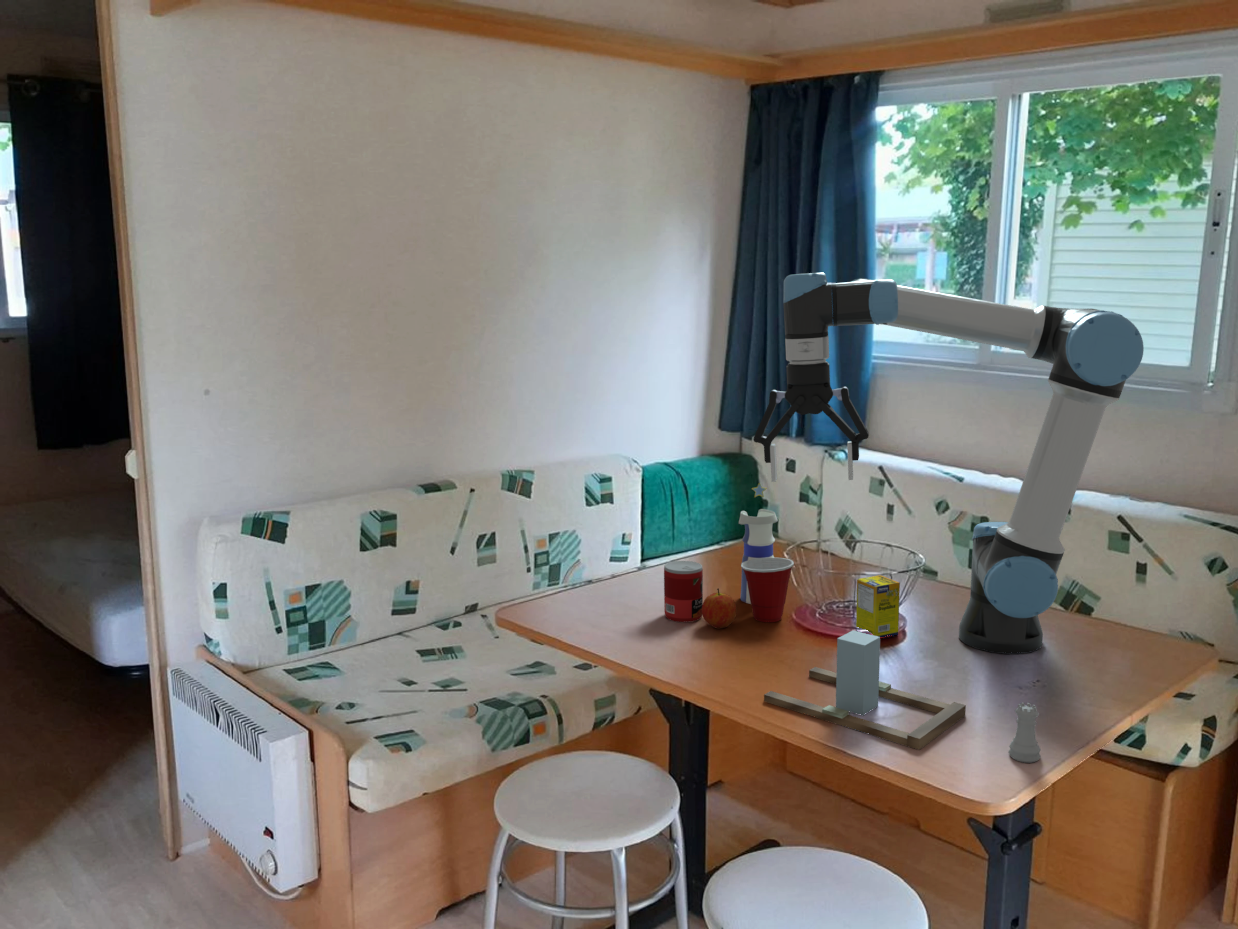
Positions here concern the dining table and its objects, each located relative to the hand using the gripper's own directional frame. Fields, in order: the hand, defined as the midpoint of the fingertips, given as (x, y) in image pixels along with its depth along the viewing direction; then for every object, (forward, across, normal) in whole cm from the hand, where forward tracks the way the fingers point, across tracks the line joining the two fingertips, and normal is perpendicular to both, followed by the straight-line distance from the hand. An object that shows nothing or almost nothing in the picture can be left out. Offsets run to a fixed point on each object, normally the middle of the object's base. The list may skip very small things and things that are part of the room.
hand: (812, 479), depth 192 cm
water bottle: (+33, -15, +32) cm, 48 cm away
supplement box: (+34, +10, +15) cm, 39 cm away
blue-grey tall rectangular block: (+34, +7, -21) cm, 41 cm away
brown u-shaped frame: (+34, +7, -21) cm, 41 cm away
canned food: (+32, -29, +18) cm, 47 cm away
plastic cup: (+33, -12, +20) cm, 41 cm away
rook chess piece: (+36, +32, -34) cm, 59 cm away
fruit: (+33, -21, +13) cm, 41 cm away
